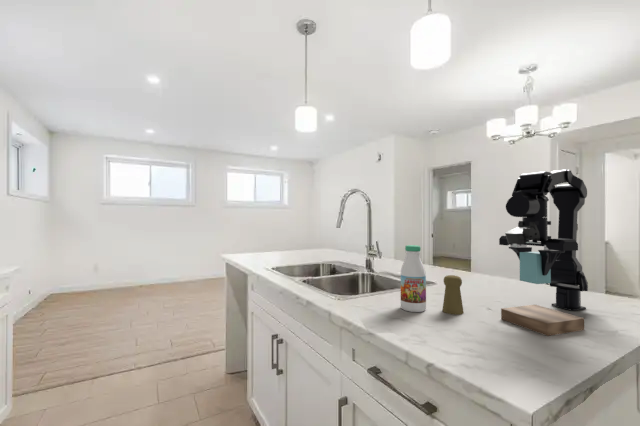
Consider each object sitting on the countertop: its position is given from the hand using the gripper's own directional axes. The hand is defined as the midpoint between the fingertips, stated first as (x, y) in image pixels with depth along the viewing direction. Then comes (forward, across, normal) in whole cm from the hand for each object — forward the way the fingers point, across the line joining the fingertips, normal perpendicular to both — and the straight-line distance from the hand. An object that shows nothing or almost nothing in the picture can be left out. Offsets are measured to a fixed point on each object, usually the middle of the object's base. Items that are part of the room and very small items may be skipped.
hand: (535, 273), depth 85 cm
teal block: (+2, 0, 0) cm, 2 cm away
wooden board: (+13, +2, -1) cm, 13 cm away
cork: (+14, -14, -15) cm, 25 cm away
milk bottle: (+14, -20, -26) cm, 35 cm away
